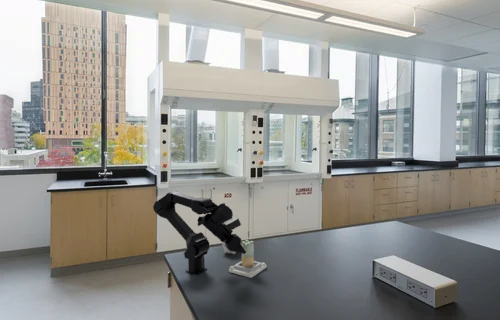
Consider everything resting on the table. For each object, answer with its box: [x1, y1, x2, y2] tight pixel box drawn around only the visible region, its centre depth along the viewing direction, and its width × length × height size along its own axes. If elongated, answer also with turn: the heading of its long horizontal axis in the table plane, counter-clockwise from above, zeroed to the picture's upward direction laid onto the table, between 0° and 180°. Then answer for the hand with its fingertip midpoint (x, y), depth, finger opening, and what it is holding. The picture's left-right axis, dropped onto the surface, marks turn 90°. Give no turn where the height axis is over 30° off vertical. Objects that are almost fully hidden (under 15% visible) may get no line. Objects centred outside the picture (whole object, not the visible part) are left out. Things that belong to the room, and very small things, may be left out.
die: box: [221, 242, 237, 255], centre depth 155 cm, size 8×9×10 cm
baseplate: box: [228, 260, 267, 279], centre depth 135 cm, size 12×11×2 cm
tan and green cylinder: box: [241, 239, 255, 268], centre depth 134 cm, size 5×5×11 cm
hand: (241, 249), depth 134 cm, fingers open, 9 cm apart
